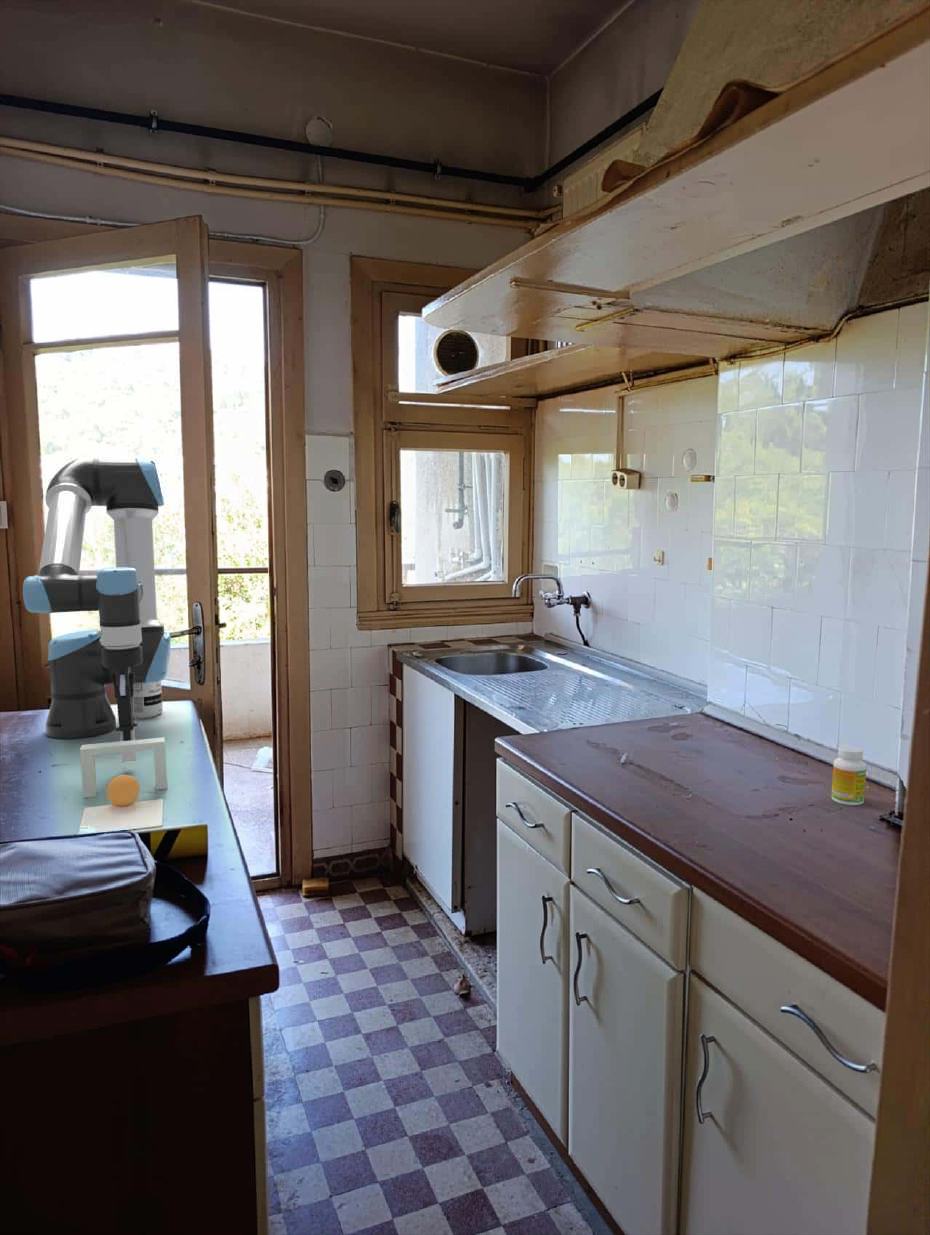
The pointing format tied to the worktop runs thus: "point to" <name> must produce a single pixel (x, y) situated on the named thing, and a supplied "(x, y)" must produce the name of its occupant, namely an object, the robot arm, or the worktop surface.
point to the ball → (123, 790)
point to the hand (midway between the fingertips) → (129, 760)
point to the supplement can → (147, 699)
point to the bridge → (122, 746)
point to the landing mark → (123, 816)
